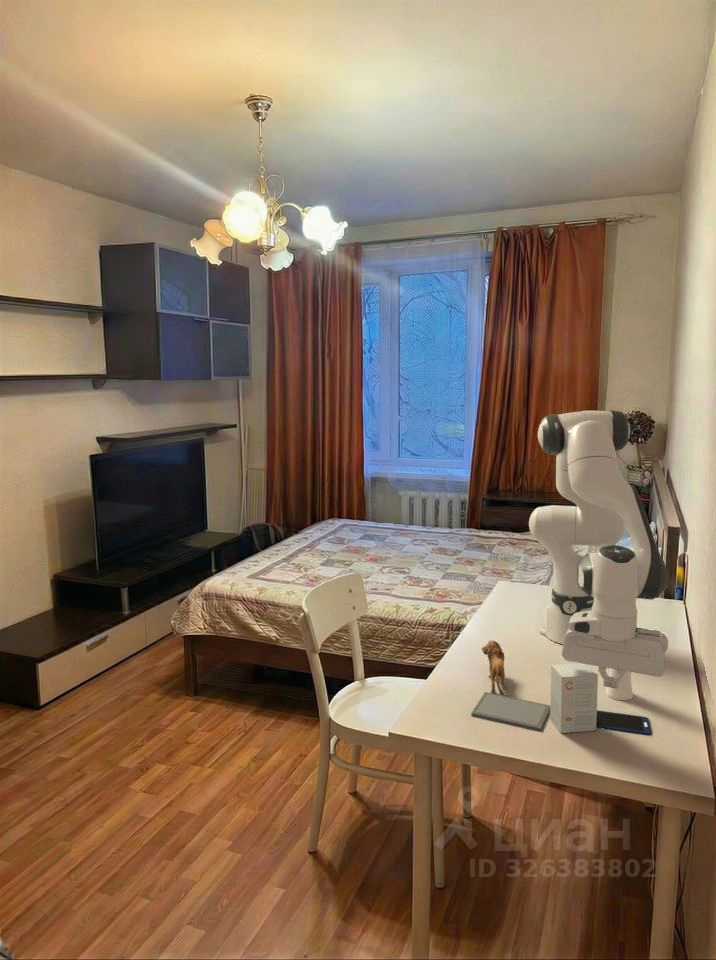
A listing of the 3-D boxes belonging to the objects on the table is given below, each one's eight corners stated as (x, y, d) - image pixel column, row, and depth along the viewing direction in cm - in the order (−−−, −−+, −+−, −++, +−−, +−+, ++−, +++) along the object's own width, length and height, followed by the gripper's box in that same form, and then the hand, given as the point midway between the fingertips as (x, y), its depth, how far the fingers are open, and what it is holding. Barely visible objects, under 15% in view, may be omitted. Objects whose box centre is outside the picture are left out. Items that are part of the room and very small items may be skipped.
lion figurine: (480, 670, 171) (480, 637, 169) (500, 670, 171) (500, 637, 169) (492, 697, 156) (493, 662, 155) (514, 697, 156) (515, 661, 155)
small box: (583, 716, 147) (585, 661, 145) (596, 731, 141) (599, 674, 139) (549, 719, 146) (550, 664, 144) (560, 734, 140) (562, 677, 138)
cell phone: (652, 737, 139) (652, 733, 138) (582, 727, 143) (582, 724, 143) (648, 720, 145) (648, 717, 145) (582, 711, 150) (582, 708, 150)
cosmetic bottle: (623, 687, 160) (627, 601, 157) (638, 699, 154) (642, 610, 151) (600, 689, 159) (604, 603, 156) (614, 701, 153) (618, 612, 150)
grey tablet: (485, 694, 158) (485, 691, 158) (550, 708, 151) (550, 705, 151) (471, 715, 148) (471, 712, 148) (540, 731, 141) (540, 728, 141)
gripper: (669, 626, 134) (665, 689, 136) (566, 612, 143) (564, 671, 146) (668, 638, 129) (664, 703, 131) (561, 622, 138) (559, 683, 140)
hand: (611, 686), depth 138 cm, fingers closed
